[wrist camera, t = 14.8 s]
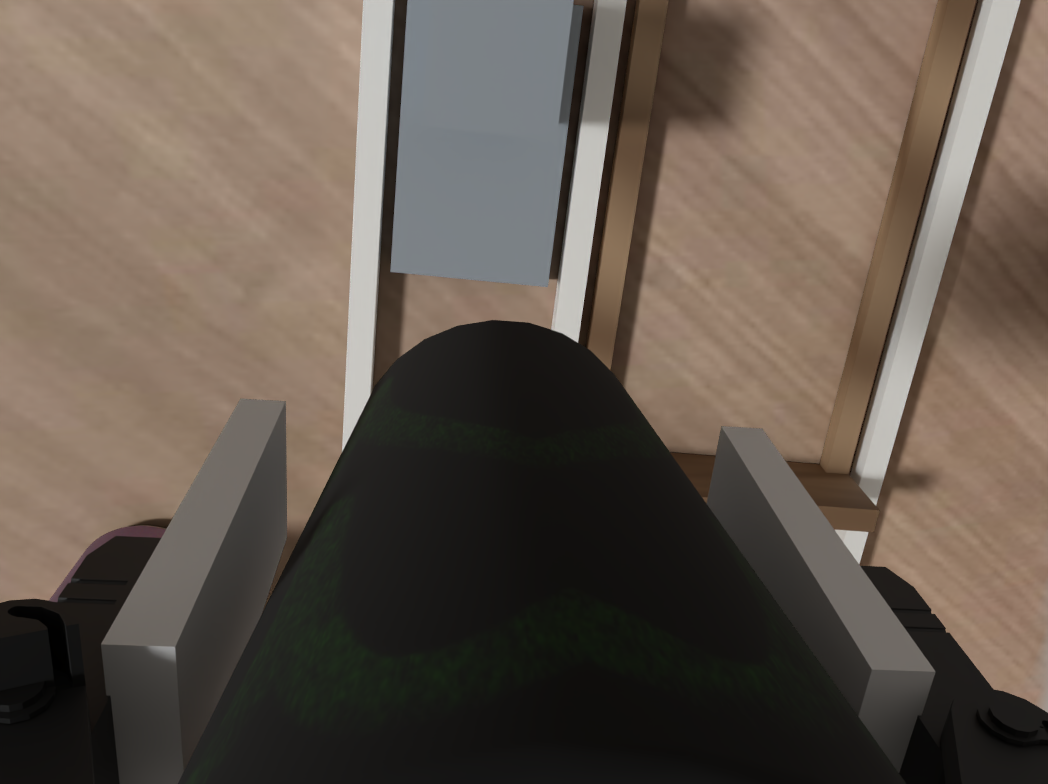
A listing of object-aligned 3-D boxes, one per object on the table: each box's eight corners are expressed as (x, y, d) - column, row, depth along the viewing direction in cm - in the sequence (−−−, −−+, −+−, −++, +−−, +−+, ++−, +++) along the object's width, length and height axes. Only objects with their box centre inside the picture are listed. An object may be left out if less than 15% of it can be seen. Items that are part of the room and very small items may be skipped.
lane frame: (371, -118, 31) (368, -123, 30) (1013, -30, 33) (1032, -31, 32) (332, 697, 43) (329, 714, 42) (803, 721, 45) (811, 738, 44)
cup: (721, 282, 17) (1205, 792, 6) (659, 620, 20) (905, 1387, 9) (301, 249, 16) (-41, 761, 5) (300, 606, 19) (79, 1419, 8)
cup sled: (694, -399, 28) (782, -563, 21) (1054, -337, 30) (1268, -470, 22) (568, 465, 39) (594, 575, 31) (835, 486, 40) (925, 596, 32)
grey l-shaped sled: (410, -15, 32) (396, -27, 25) (579, 6, 33) (609, 0, 26) (392, 264, 36) (375, 318, 29) (544, 279, 36) (563, 335, 29)
